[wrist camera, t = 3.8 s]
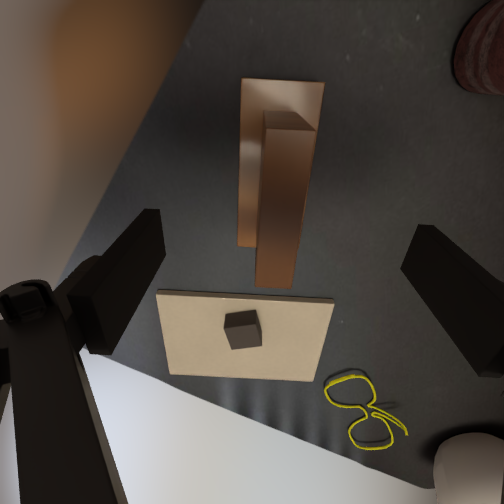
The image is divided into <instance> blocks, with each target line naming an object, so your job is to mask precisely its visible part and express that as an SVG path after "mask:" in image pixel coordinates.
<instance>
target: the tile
mask: <svg viewBox="0 0 504 504" xmlns="http://www.w3.org/2000/svg"><path fill="white" fill-rule="evenodd" d="M156 299H157V304H158V310H159V316H160V321H161V327H162V332H163V338H164V344H165V349H166V355H167V360H168V366H169V372H170V374H177V375H196V376H216V377H235V378H254V379H273V380H293V381H312V382H313V380H314V376H315V372H316V369H317V365H318V362H319V358H320V354H321V351H322V347H323V343H324V340H325V336H326V333H327V329H328V325H329V322H330V318H331V315H332V311H333V307H334V301H333V299H325V298H306V297H287V296H268V295H250V294H231V293H212V292H194V291H175V290H158V291H157V293H156ZM249 310H256V311H257V315H258V318H259V322H260V326H261V329H262V346H260V347H252V348H244V349H235V350H231V347H230V345H229V342H228V339H227V337H226V334H225V332H224V329H223V328H224V321H225V314H228V313H235V312H242V311H249Z"/></svg>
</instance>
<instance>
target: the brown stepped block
mask: <svg viewBox="0 0 504 504" xmlns="http://www.w3.org/2000/svg"><path fill="white" fill-rule="evenodd" d="M324 88H325V82H316V81H298V80H281V79H263V78H246V77H242V78H241V104H240V147H239V190H238V232H237V246H241V247H256V257H255V287H266V288H285V289H291V288H292V281H293V275H294V269H295V263H296V256H297V250H298V249H299V242H300V236H301V230H302V224H303V218H304V211H305V205H306V199H307V193H308V187H309V181H310V174H311V168H312V162H313V156H314V150H315V143H316V137H317V131H318V125H319V119H320V113H321V106H322V100H323V94H324Z"/></svg>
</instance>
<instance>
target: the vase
mask: <svg viewBox="0 0 504 504" xmlns="http://www.w3.org/2000/svg"><path fill="white" fill-rule="evenodd" d="M503 473H504V440H502V439H499V438H497V437H495V436H493V435H490V434H487V433H465V434H460V435H456V436H454V437H451V438H449V439H447V440H446V441H444V442H443V443H442V444H440V446H439V448H438V450H437V453H436V455H435V460H434V470H433V475H434V483H435V489H436V496H437V502H438V504H501V494H502V484H503Z"/></svg>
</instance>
